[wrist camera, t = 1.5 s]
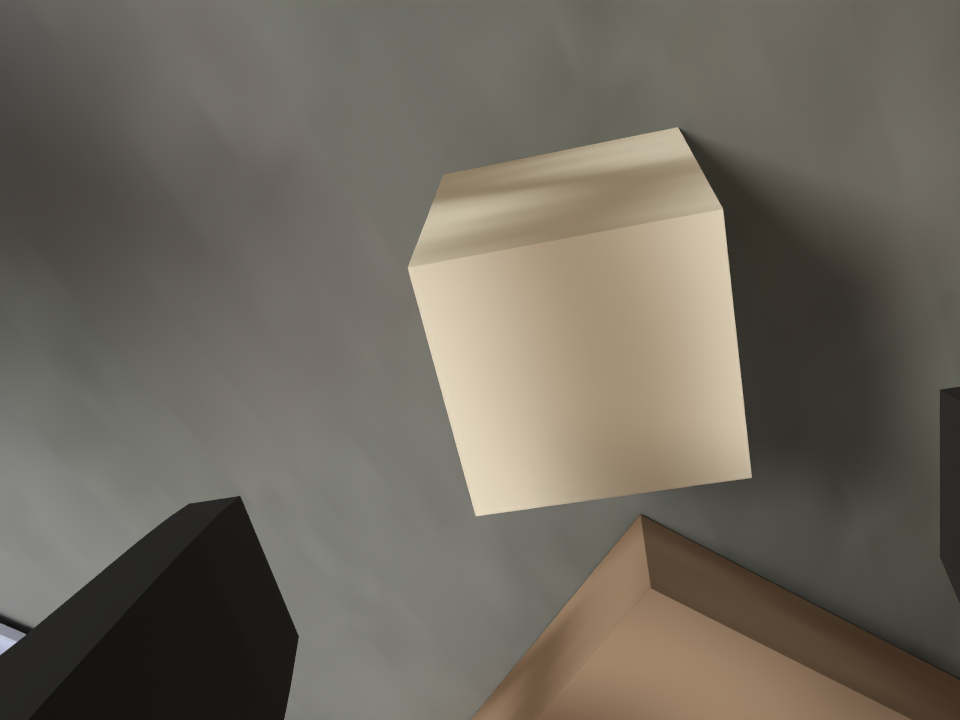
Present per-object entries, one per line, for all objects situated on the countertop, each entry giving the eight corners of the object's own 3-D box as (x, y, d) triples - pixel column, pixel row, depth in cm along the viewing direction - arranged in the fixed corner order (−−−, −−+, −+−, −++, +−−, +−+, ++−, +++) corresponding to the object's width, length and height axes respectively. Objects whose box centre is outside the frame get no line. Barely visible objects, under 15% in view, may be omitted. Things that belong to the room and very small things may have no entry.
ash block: (492, 375, 20) (475, 516, 15) (443, 173, 18) (407, 267, 13) (704, 340, 19) (751, 477, 14) (677, 126, 17) (723, 209, 12)
